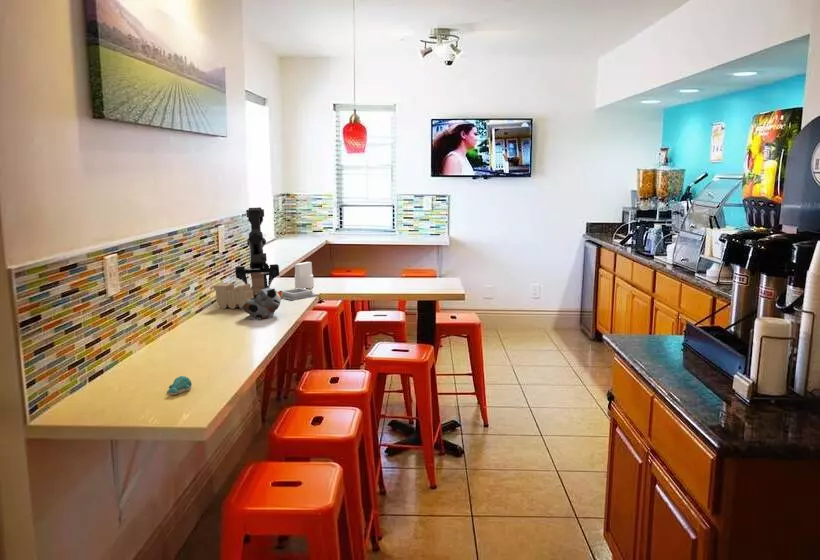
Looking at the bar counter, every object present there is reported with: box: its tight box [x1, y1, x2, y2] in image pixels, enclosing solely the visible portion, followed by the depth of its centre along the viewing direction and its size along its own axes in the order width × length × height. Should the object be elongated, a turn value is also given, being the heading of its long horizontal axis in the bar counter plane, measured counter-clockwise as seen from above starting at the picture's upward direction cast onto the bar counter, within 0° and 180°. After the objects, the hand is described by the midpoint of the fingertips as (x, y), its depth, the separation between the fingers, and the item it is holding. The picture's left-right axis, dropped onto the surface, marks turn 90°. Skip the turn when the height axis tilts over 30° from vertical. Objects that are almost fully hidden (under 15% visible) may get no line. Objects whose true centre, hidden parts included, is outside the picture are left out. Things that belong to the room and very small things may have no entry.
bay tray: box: [281, 288, 319, 301], centre depth 290 cm, size 14×14×2 cm
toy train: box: [212, 282, 254, 310], centre depth 268 cm, size 6×17×10 cm, turn 71°
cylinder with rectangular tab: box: [294, 261, 315, 289], centre depth 310 cm, size 9×9×12 cm
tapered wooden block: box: [250, 272, 265, 296], centre depth 280 cm, size 5×5×12 cm
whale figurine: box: [166, 375, 193, 395], centre depth 166 cm, size 6×7×4 cm
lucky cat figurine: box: [239, 287, 283, 320], centre depth 249 cm, size 15×12×14 cm
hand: (258, 286), depth 278 cm, fingers open, 9 cm apart
